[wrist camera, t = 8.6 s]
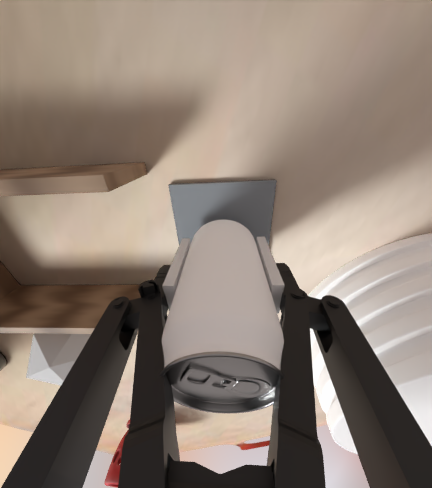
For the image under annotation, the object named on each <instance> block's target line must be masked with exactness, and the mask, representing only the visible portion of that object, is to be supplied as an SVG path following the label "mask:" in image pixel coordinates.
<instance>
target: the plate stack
mask: <svg viewBox="0 0 432 488" xmlns="http://www.w3.org/2000/svg"><path fill="white" fill-rule="evenodd" d="M326 295H331V296H335V297H337V298H339V299H340V300H342V301H343V302H344V303H345V305H346V307H347V308H348V310H349V311H350V313H351V315H352V316H353V318H354V320H355V321H356V323H357V325H358V326H359V328H360V329H361V331H362V333H363V334H364V336H365V338H366V339H367V341H368V343H369V344H370V346H371V347H372V349H373V351H374V352H375V354H376V356H377V357H378V359H379V361H380V362H381V364H382V366H383V367H384V369H385V370H386V372H387V374H388V375H389V377H390V379H391V380H392V382H393V384H394V385H395V387H396V388H397V390H398V392H399V393H400V395H401V397H402V398H403V400H404V402H405V403H406V405H407V407H408V408H409V410H410V411H411V413H412V415H413V416H414V418H415V420H416V421H417V423H418V425H419V426H420V428H421V429H422V431H423V433H424V434H425V436H426V438H427V439H428V441H429V443H430V444H431V446H432V233H428V234H423V235H418V236H414V237H410V238H406V239H402V240H399V241H396V242H393V243H390V244H387V245H384V246H382V247H379V248H376V249H374V250H372V251H370V252H367V253H365V254H363V255H361V256H359V257H357V258H355V259H353V260H352V261H350V262H348V263H346V264H345V265H343V266H342V267H340V268H339V269H337V270H336V271H334V272H333V273H331V274H330V275H329V276H327V277H326V278H325V279H324V280H323V281H321V282H320V283H319V284H318V285H317V286H316V287H315V288H314V289H313V290H312V291H311V292H310V294H309V295H308V296H309V297H313V298H317V299H322V297H323V296H326ZM310 337H311V352H312V367H313V383H314V386H315V388H316V392H317V396H318V399H319V401H320V404H321V407H322V409H323V411H324V412H325V413H326V414H327V416H326V420H327V423H328V426H329V429H330V432H331V435H332V437H333V439H334V441H335V442H336V443H337V444H338V445H339V446H341V447H342V448H344V449H346V450H348V451H350V452H353V453H355V454H358V453H357V450H356V447H355V445H354V442H353V439H352V436H351V434H350V431H349V428H348V425H347V423H346V420H345V417H344V414H343V411H342V409H341V406H340V403H339V400H338V398H337V395H336V392H335V389H334V387H333V384H332V381H331V378H330V376H329V373H328V370H327V367H326V364H325V362H324V359H323V356H322V353H321V351H320V348H319V345H318V342H317V340H316V337H315V334H314V331H313V329H311V328H310Z"/></svg>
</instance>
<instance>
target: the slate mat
mask: <svg viewBox="0 0 432 488" xmlns="http://www.w3.org/2000/svg"><path fill="white" fill-rule="evenodd" d="M275 189H276V180H255V181H231V182H207V183H183V184H169V191H170V196H171V202H172V207H173V213H174V219H175V224H176V230H177V235H178V241H179V245H180V243H181V240H182V238H190V243H191V242H192V239H193V237H194V235H195V233H196V232H197V231H198V230H199V229H200V228H201V227H202V226H203V225H205V224H207V223H209V222H211V221H215V220H232V221H235V222H238V223H240V224H242V225H243V226H245V227H246V228H247V229H248V230H249V231H250V232H251V234H252V235H253V237H254V240H255V242H256V239H257V237H265V238H266V241H267V243H268V246H269V239H270V231H271V222H272V214H273V206H274V197H275Z"/></svg>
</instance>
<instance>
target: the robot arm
mask: <svg viewBox="0 0 432 488" xmlns="http://www.w3.org/2000/svg"><path fill="white" fill-rule="evenodd" d="M190 245H191V243H190V238H182V240H181V243H180V245H179V247H178V250H177V252H176V255H175V257H174V259H173V262H172V264H171V265H164V266H163V267H161V268H160V269H159V271H158V274H157V276H156V278H155V280H148V281H145V282H143V283H142V284H141V285H140V286H139V288H138V291H139V293H140V296H141V297H140V298H137V299H133V300H129V299H128V298H127V297H124V296H122V297H118V298H116V299H114V300H113V301H111V302H110V304H109V305H108V307H107V308H106V310H105V312H104V313H103V315H102V317H101V319H100V320H99V322H98V324H97V325H96V327H95V329H94V330H93V332H92V334H91V336H90V337H89V339H88V341H87V342H86V344H85V346H84V347H83V349H82V351H81V353H80V354H79V356H78V358H77V359H76V361H75V363H74V364H73V366H72V368H71V370H70V371H69V373H68V375H67V376H66V378H65V380H64V382H63V383H62V385H61V387H60V388H59V390H58V392H57V393H56V395H55V397H54V399H53V400H52V402H51V404H50V405H49V407H48V409H47V410H46V412H45V414H44V416H43V417H42V419H41V421H40V422H39V424H38V426H37V427H36V429H35V431H34V433H33V434H32V436H31V438H30V439H29V441H28V443H27V445H26V446H25V448H24V450H23V451H22V453H21V455H20V457H19V458H18V460H17V462H16V463H15V465H14V467H13V468H12V471H11V472H10V473H9V475H8V477H7V479H6V480H5V482H4V484H3V485H2V487H1V488H82V487H83V484H84V482H85V478H86V476H87V473H88V470H89V467H90V465H91V462H92V459H93V456H94V453H95V451H96V448H97V445H98V442H99V439H100V436H101V434H102V431H103V428H104V425H105V422H106V420H107V417H108V414H109V411H110V408H111V405H112V403H113V400H114V397H115V394H116V391H117V388H118V386H119V383H120V380H121V377H122V374H123V372H124V369H125V366H126V363H127V360H128V357H129V355H130V352H131V349H132V346H133V343H134V340H135V338H136V335H137V332H138V339H137V350H136V361H135V372H134V383H133V394H132V405H131V417H130V426H129V430H128V432H127V434H126V436H125V438H124V442H123V447H122V455H121V464H120V474H119V483H118V488H325V475H324V463H323V454H322V448H321V445H320V442H319V440H318V437H317V430H316V413H315V398H314V383H313V367H312V352H311V337H310V328H311V329H313V331H314V334H315V337H316V340H317V342H318V345H319V348H320V351H321V353H322V356H323V359H324V362H325V364H326V367H327V370H328V373H329V376H330V378H331V381H332V384H333V387H334V389H335V392H336V395H337V398H338V400H339V403H340V406H341V409H342V411H343V414H344V417H345V420H346V423H347V425H348V428H349V431H350V434H351V436H352V439H353V442H354V445H355V447H356V450H357V453H358V456H359V458H360V461H361V464H362V467H363V469H364V472H365V475H366V478H367V481H368V483H369V486H370V488H432V446H431V444H430V443H429V441H428V439H427V438H426V436H425V434H424V433H423V431H422V429H421V428H420V426H419V425H418V423H417V421H416V420H415V418H414V416H413V415H412V413H411V411H410V410H409V408H408V407H407V405H406V403H405V402H404V400H403V398H402V397H401V395H400V393H399V392H398V390H397V388H396V387H395V385H394V384H393V382H392V380H391V379H390V377H389V375H388V374H387V372H386V370H385V369H384V367H383V366H382V364H381V362H380V361H379V359H378V357H377V356H376V354H375V352H374V351H373V349H372V347H371V346H370V344H369V343H368V341H367V339H366V338H365V336H364V334H363V333H362V331H361V329H360V328H359V326H358V325H357V323H356V321H355V320H354V318H353V316H352V315H351V313H350V311H349V310H348V308H347V307H346V305H345V303H344V302H343V301H342V300H340V299H339V298H337V297H335V296H331V295H326V296H323V297H322V299H317V298H313V297H309V296H307V294H306V293H305V292H304V291H303V290H301V289H300V288H299V286H298V284H297V282H296V280H295V278H294V276H293V274H292V272H291V270H290V268H289V267H288V266H287V265H286V264H285V263H275V260H274V258H273V256H272V253H271V251H270V248H269V246H268V243H267V241H266V238H265V237H257V239H256V246H257V249H258V252H259V255H260V258H261V262H262V265H263V268H264V271H265V275H266V278H267V281H268V285H269V288H270V291H271V295H272V298H273V301H274V305H275V308H276V311H277V313H279V311H280V310H281V313H282V315H281V320H280V325H281V328H282V332H283V338H284V345H283V350H282V359H281V372H282V373H283V375H284V378H281V377H280V376H279V378H278V381H277V385H276V389H275V395H274V402H273V414H272V425H271V436H270V445H269V451H268V460H267V466H259V465H244V466H242V467H239V468H236V469H234V470H231V471H228V472H226V473H223V474H218V473H216V472H214V471H212V470H209V469H207V468H206V467H203V466H201V465H199V464H197V463H195V462H184V461H180V457H179V448H178V443H177V436H176V425H175V411H174V399H173V393H172V386H171V383H170V381H169V379H168V376H167V373H165V374H164V375H163V376H161V375H160V374H161V372H162V370H163V369H164V355H163V347H162V335H163V331H164V327H165V324H166V321H167V318H168V316H167V311H168V309H169V311H170V308H171V305H172V301H173V298H174V295H175V292H176V289H177V285H178V282H179V279H180V276H181V273H182V270H183V266H184V263H185V260H186V257H187V254H188V251H189V248H190ZM5 366H6V360H5V358H4V357H3V355H2V354H1V353H0V371H1V370H2V369H3V368H4V367H5Z"/></svg>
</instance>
